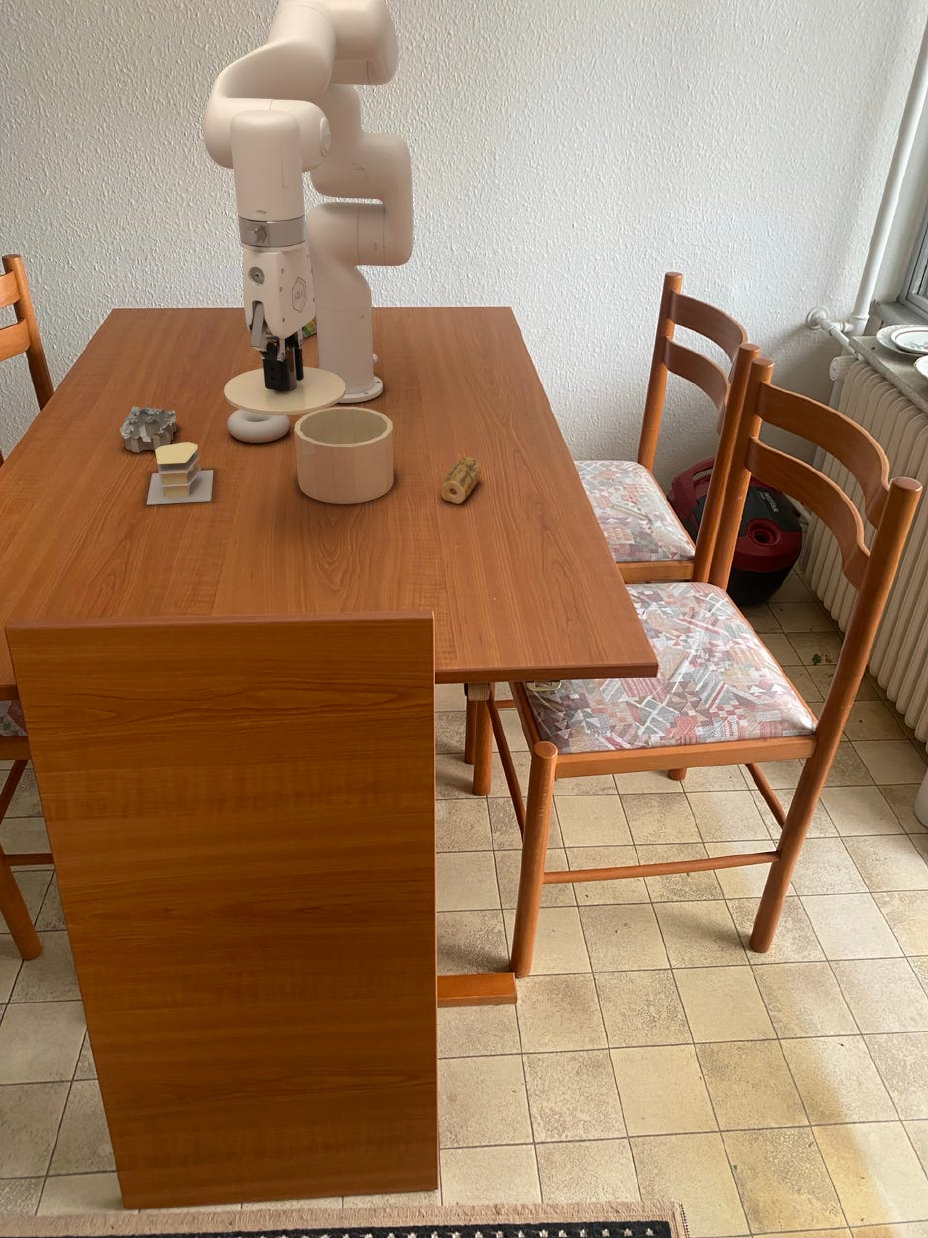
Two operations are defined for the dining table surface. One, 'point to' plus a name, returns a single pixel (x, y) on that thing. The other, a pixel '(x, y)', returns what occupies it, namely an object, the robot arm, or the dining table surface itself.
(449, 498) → the tan cylinder with hole
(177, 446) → the stacked layers on plate
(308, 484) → the crock
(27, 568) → the dining table surface
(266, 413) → the lid
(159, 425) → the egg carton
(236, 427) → the donut
